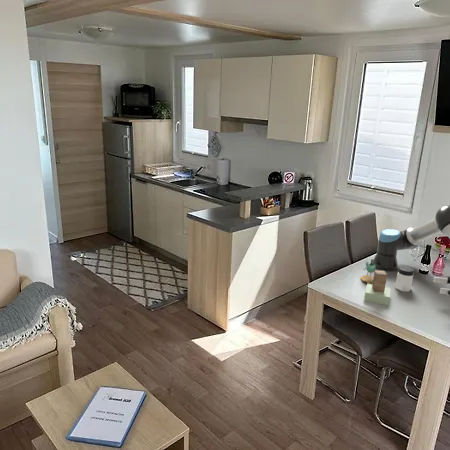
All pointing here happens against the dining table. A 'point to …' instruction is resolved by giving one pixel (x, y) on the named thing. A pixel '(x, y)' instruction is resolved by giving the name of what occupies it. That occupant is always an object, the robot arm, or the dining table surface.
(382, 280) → the walnut block
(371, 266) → the green insect figurine
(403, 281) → the jar
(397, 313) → the dining table surface
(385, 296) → the sage block
